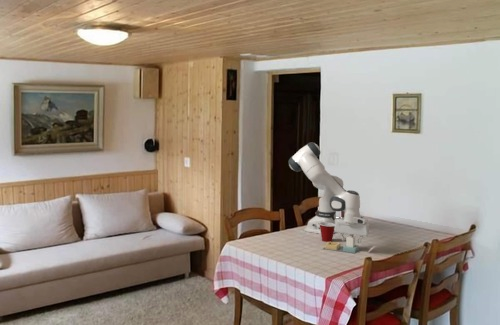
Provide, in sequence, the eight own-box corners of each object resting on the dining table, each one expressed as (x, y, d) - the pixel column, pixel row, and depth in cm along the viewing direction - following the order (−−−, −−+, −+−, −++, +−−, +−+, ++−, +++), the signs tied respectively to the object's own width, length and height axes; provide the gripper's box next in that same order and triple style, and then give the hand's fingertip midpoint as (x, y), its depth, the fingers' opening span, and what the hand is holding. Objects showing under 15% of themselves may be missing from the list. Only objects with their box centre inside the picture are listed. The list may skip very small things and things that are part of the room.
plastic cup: (338, 243, 322) (339, 225, 320) (322, 244, 320) (322, 225, 318) (332, 239, 332) (332, 221, 331) (316, 240, 330) (316, 221, 329)
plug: (346, 250, 304) (346, 235, 303) (348, 248, 307) (348, 234, 306) (352, 251, 302) (353, 236, 301) (354, 249, 305) (355, 234, 304)
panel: (322, 250, 307) (322, 245, 306) (329, 245, 317) (329, 240, 317) (355, 255, 297) (355, 249, 297) (361, 250, 308) (361, 244, 307)
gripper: (333, 217, 304) (332, 240, 306) (367, 221, 295) (366, 245, 296) (336, 215, 310) (336, 238, 312) (370, 219, 300) (369, 242, 302)
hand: (351, 241), depth 304 cm, fingers open, 8 cm apart
